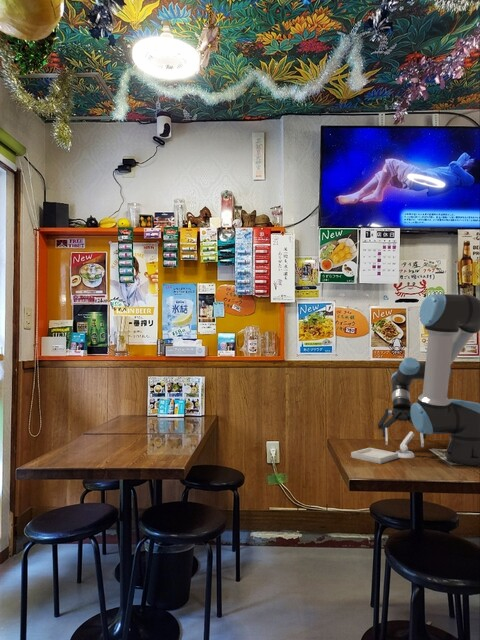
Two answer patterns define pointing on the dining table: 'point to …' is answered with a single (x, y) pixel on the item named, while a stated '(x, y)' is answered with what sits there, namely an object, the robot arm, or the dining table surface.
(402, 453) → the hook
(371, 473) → the dining table surface
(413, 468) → the dining table surface
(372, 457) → the tray
